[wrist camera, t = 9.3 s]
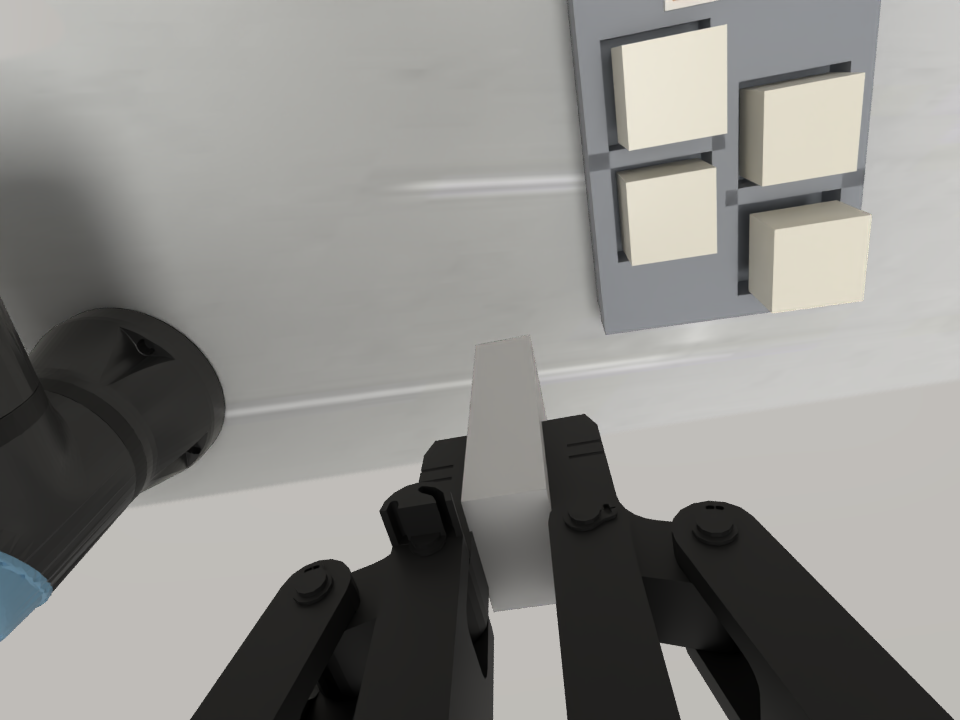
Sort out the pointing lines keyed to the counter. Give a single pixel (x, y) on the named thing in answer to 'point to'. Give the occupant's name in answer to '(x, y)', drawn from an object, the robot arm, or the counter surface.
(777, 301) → the button
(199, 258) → the counter surface
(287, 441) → the counter surface
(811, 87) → the button
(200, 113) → the counter surface
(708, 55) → the button
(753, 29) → the board
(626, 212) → the button
